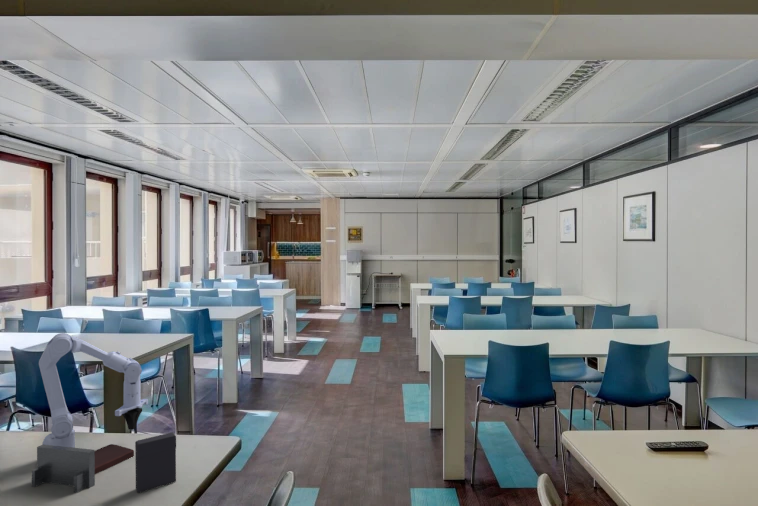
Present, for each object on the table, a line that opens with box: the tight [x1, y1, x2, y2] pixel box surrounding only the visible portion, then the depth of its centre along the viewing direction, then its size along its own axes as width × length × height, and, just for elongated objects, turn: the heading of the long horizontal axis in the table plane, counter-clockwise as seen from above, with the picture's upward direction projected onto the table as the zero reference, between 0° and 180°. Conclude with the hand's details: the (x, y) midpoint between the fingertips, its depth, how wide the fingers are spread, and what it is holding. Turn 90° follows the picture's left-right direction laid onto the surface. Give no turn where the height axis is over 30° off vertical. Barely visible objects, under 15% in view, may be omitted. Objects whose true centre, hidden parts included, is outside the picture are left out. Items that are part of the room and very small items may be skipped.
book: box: [95, 443, 135, 475], centre depth 156 cm, size 12×19×3 cm, turn 157°
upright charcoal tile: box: [134, 432, 177, 494], centre depth 142 cm, size 11×4×15 cm, turn 128°
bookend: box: [31, 444, 96, 493], centre depth 142 cm, size 20×5×11 cm, turn 77°
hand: (132, 428), depth 173 cm, fingers closed
